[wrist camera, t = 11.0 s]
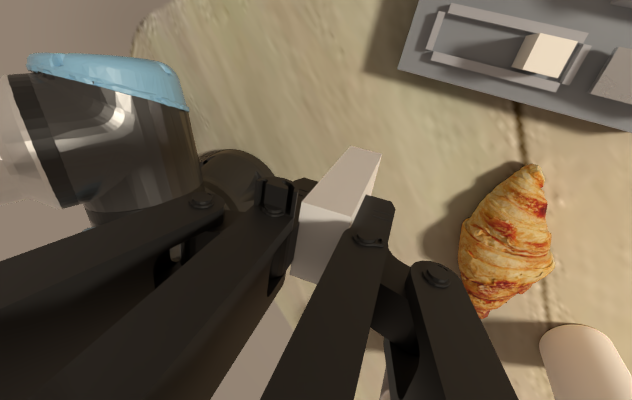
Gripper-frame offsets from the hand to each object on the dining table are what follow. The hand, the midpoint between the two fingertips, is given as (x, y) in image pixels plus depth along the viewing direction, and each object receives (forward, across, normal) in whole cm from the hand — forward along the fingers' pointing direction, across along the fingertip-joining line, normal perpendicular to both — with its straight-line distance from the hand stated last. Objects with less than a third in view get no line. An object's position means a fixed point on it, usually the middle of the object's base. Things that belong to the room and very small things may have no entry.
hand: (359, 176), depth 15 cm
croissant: (+26, -16, +13) cm, 34 cm away
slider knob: (+22, -10, -7) cm, 25 cm away
